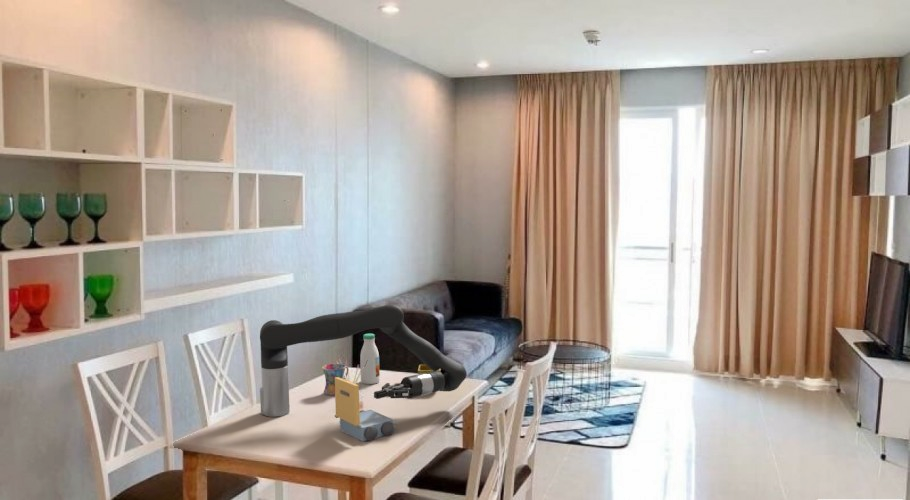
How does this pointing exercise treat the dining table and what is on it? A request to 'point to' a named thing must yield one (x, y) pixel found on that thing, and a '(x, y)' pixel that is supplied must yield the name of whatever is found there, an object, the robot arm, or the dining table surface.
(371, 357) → the milk bottle
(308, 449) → the dining table surface
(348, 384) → the yellow plate
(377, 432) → the flatbed
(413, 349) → the robot arm
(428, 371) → the flower pot
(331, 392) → the mug
